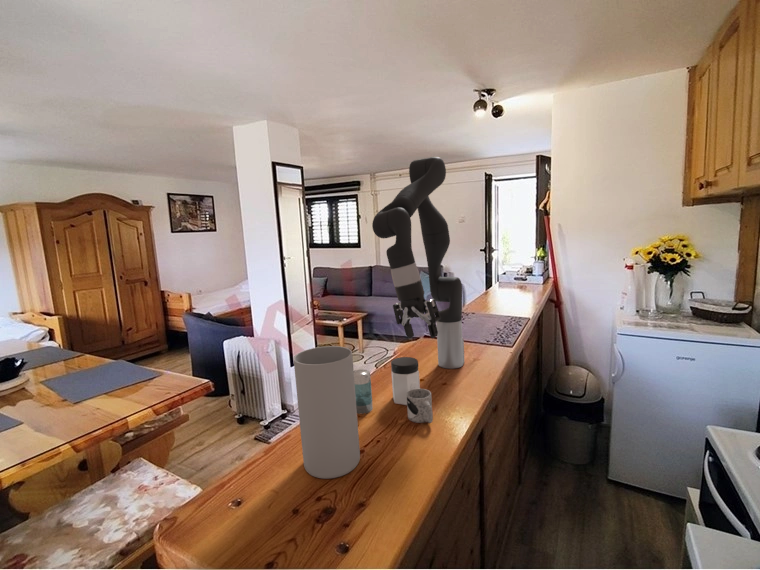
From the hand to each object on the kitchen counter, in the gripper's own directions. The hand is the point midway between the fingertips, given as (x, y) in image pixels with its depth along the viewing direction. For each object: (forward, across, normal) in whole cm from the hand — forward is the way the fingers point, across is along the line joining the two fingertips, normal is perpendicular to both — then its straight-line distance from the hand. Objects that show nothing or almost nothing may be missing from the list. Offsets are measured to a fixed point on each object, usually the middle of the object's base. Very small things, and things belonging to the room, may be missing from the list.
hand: (422, 337), depth 104 cm
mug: (+20, 0, +9) cm, 22 cm away
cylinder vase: (+16, +3, +36) cm, 40 cm away
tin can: (+17, +17, +14) cm, 28 cm away
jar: (+20, +11, +2) cm, 23 cm away
